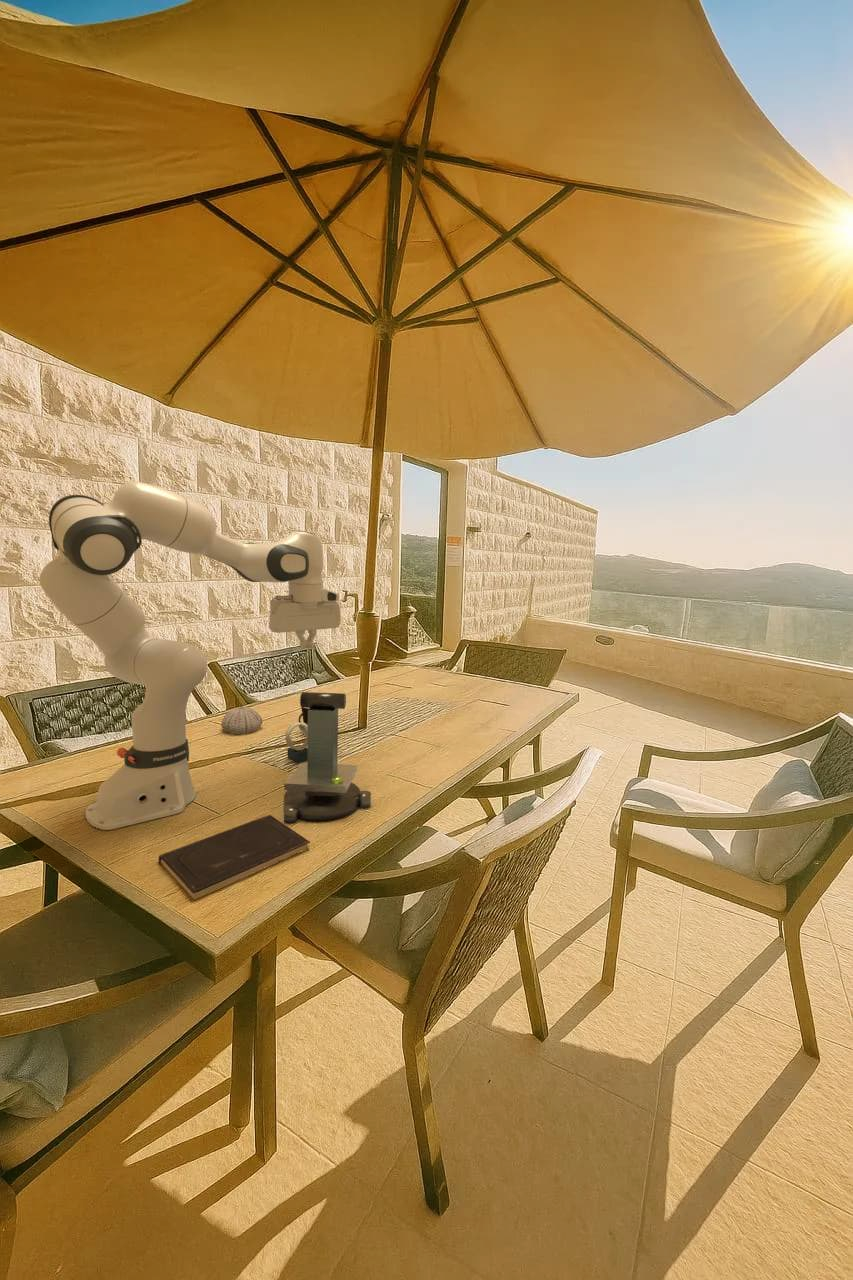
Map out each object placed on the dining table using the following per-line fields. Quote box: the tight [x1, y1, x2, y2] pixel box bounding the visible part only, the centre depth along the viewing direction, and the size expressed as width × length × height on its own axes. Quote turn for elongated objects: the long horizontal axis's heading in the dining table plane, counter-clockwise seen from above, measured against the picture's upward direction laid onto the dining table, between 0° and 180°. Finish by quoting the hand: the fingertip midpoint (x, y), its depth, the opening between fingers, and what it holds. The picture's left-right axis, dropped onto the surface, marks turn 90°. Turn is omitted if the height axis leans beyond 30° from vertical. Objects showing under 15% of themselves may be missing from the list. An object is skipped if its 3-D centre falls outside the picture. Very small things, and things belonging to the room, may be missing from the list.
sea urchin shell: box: [220, 706, 263, 735], centre depth 173 cm, size 13×14×8 cm
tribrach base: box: [283, 781, 372, 825], centre depth 121 cm, size 20×21×6 cm
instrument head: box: [283, 691, 358, 793], centre depth 120 cm, size 14×14×21 cm
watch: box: [284, 721, 308, 764], centre depth 148 cm, size 6×8×11 cm
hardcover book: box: [158, 814, 311, 900], centre depth 99 cm, size 16×23×2 cm
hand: (306, 647), depth 134 cm, fingers closed
